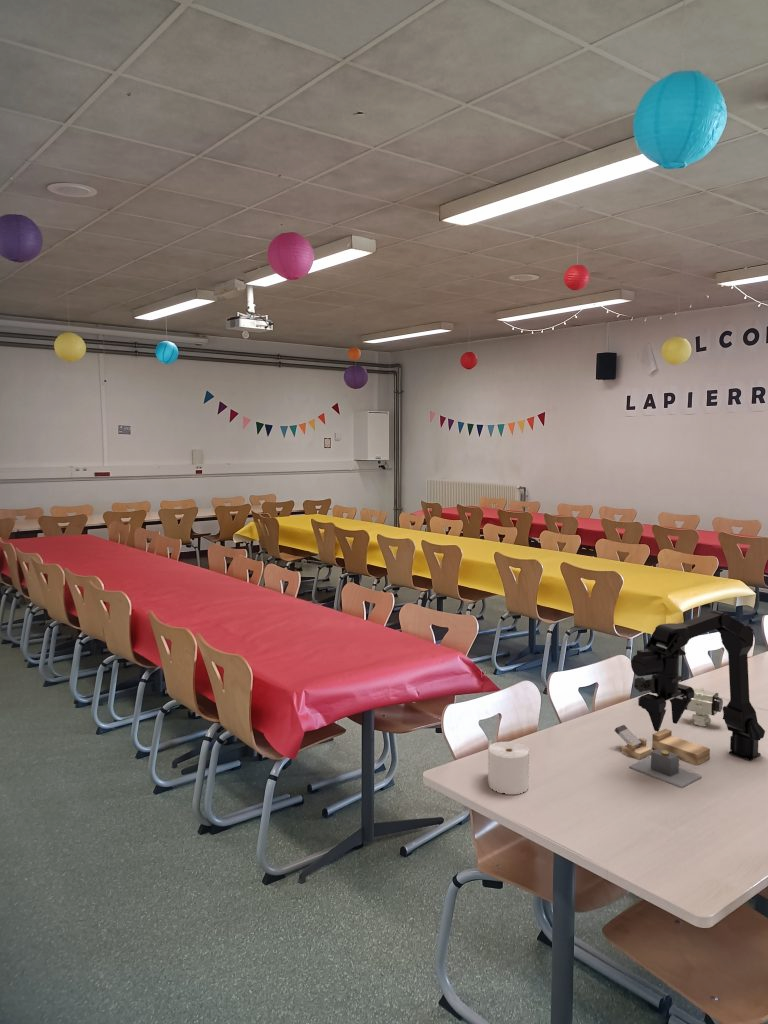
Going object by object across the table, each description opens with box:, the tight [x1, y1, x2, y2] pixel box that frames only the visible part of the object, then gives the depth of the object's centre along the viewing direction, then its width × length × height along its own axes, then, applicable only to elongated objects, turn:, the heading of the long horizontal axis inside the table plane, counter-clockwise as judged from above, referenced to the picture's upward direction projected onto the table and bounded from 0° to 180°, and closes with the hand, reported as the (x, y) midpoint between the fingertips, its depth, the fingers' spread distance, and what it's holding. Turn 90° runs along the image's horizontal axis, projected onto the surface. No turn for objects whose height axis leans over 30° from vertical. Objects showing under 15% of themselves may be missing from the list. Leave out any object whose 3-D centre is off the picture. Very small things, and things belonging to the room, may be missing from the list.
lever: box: [614, 724, 642, 748], centre depth 213 cm, size 1×4×8 cm
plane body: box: [651, 728, 711, 766], centre depth 211 cm, size 14×7×5 cm, turn 38°
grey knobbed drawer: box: [650, 748, 680, 777], centre depth 199 cm, size 6×4×6 cm, turn 38°
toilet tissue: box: [487, 738, 530, 795], centre depth 192 cm, size 11×12×10 cm
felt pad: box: [628, 756, 703, 789], centre depth 199 cm, size 16×10×1 cm, turn 38°
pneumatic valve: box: [684, 687, 724, 728], centre depth 233 cm, size 6×12×12 cm, turn 51°
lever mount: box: [621, 737, 653, 761], centre depth 211 cm, size 6×7×4 cm
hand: (665, 727), depth 198 cm, fingers open, 9 cm apart
